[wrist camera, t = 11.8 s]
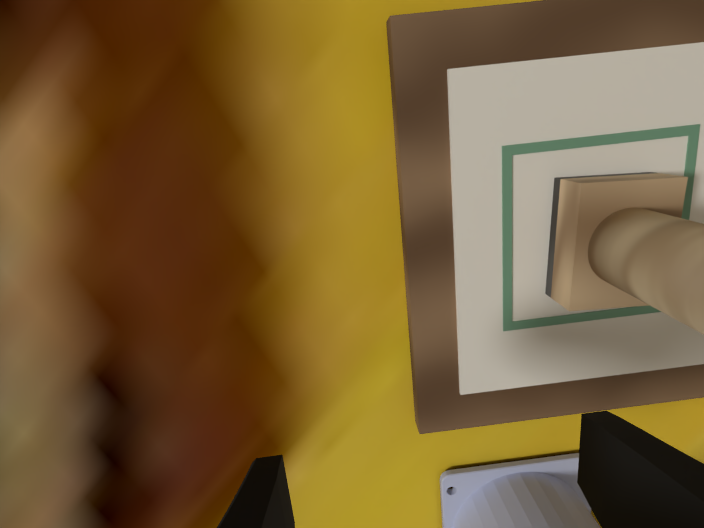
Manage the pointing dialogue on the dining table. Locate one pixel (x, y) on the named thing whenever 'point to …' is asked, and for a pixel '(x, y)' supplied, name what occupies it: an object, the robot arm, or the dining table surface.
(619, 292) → the stamp
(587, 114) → the paper
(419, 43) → the desk board
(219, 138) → the dining table surface
